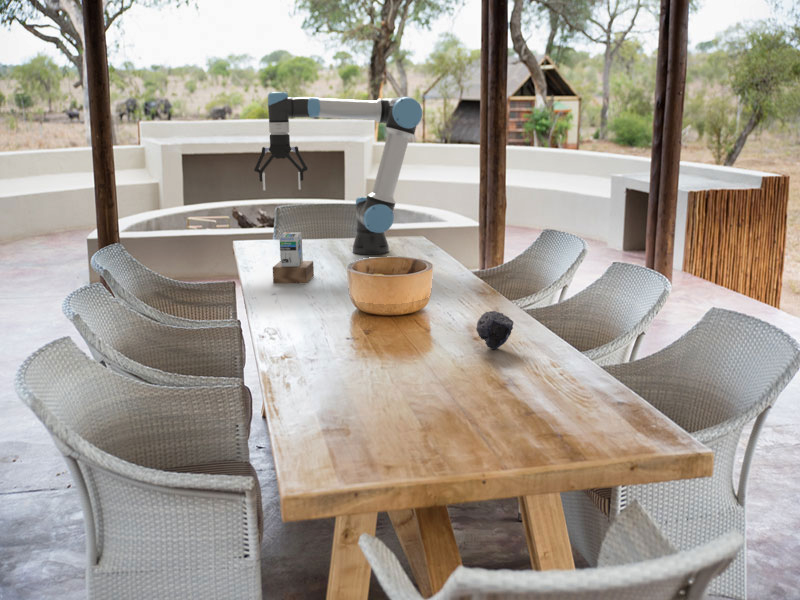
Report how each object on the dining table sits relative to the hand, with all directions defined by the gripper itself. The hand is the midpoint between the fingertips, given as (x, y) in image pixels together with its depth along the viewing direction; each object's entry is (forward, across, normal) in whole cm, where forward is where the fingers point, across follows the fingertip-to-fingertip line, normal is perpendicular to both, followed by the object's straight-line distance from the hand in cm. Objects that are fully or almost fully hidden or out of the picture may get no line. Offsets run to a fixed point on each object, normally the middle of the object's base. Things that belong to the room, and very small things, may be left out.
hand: (282, 189), depth 322 cm
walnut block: (+29, +4, -32) cm, 43 cm away
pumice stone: (+29, +58, -124) cm, 140 cm away
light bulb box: (+23, +4, -32) cm, 40 cm away
